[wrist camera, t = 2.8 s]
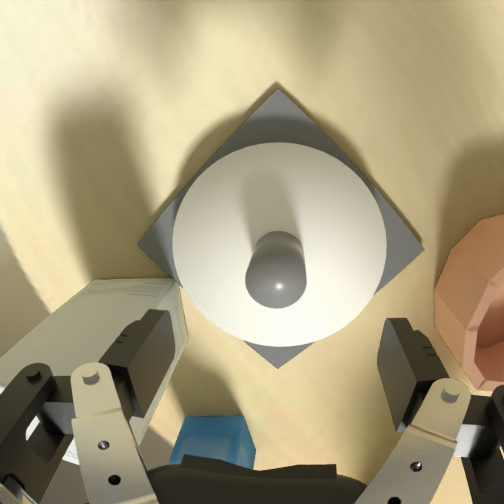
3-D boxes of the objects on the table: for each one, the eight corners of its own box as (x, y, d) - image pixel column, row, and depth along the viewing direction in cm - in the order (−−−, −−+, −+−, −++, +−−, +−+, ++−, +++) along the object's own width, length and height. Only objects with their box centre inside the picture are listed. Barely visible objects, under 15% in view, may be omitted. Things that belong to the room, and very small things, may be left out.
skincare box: (111, 333, 27) (20, 446, 13) (94, 273, 26) (-26, 374, 12) (195, 338, 26) (126, 486, 12) (183, 272, 24) (79, 411, 10)
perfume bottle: (243, 415, 29) (222, 519, 18) (256, 450, 31) (241, 542, 19) (185, 416, 30) (150, 510, 19) (203, 450, 32) (178, 535, 21)
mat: (277, 364, 26) (277, 368, 26) (140, 242, 24) (136, 244, 23) (421, 246, 22) (424, 249, 21) (278, 89, 19) (278, 88, 19)
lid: (277, 362, 25) (273, 412, 20) (145, 244, 23) (106, 274, 18) (416, 249, 21) (449, 282, 16) (278, 98, 19) (273, 82, 14)
